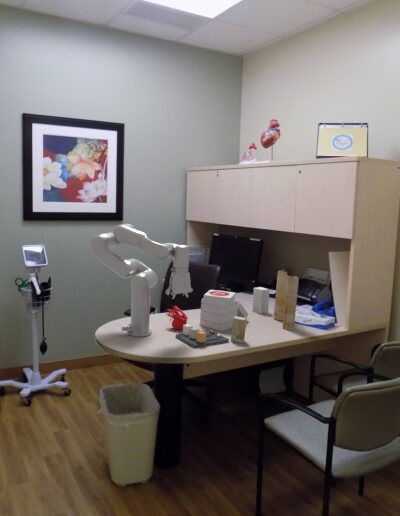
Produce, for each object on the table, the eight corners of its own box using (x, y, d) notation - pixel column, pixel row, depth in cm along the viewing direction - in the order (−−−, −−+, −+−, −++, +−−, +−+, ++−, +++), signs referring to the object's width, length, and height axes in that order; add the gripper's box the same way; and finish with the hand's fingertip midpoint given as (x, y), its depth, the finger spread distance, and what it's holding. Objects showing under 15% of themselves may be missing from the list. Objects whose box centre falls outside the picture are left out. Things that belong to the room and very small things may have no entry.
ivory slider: (186, 335, 240) (187, 326, 239) (182, 333, 243) (183, 324, 242) (192, 334, 242) (192, 325, 241) (188, 332, 245) (189, 324, 244)
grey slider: (193, 338, 235) (193, 330, 234) (189, 336, 238) (189, 328, 237) (198, 338, 237) (199, 329, 236) (195, 335, 240) (195, 327, 239)
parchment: (295, 330, 266) (300, 278, 262) (284, 330, 265) (289, 277, 261) (282, 318, 289) (287, 270, 284) (272, 318, 288) (277, 269, 283)
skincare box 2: (268, 313, 298) (270, 289, 295) (260, 314, 294) (262, 290, 292) (259, 310, 305) (261, 286, 302) (251, 311, 301) (253, 287, 299)
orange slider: (200, 342, 230) (200, 333, 229) (195, 340, 233) (196, 331, 232) (205, 341, 232) (206, 332, 231) (201, 339, 235) (202, 330, 234)
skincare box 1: (230, 340, 241) (232, 317, 239) (232, 338, 245) (234, 315, 244) (242, 343, 239) (244, 319, 237) (244, 340, 243) (246, 317, 241)
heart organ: (177, 333, 248) (179, 311, 246) (163, 327, 256) (164, 305, 255) (191, 330, 254) (193, 308, 253) (177, 324, 263) (179, 303, 261)
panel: (194, 348, 228) (194, 343, 227) (175, 337, 241) (175, 332, 241) (228, 342, 240) (229, 337, 239) (209, 332, 253) (209, 327, 253)
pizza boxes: (250, 321, 278) (253, 291, 276) (222, 332, 254) (225, 299, 251) (223, 314, 289) (225, 285, 286) (194, 324, 265) (196, 293, 262)
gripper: (169, 272, 225) (167, 309, 228) (199, 270, 235) (197, 305, 238) (161, 269, 231) (159, 305, 234) (190, 267, 241) (188, 302, 244)
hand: (178, 305), depth 236 cm, fingers open, 6 cm apart
